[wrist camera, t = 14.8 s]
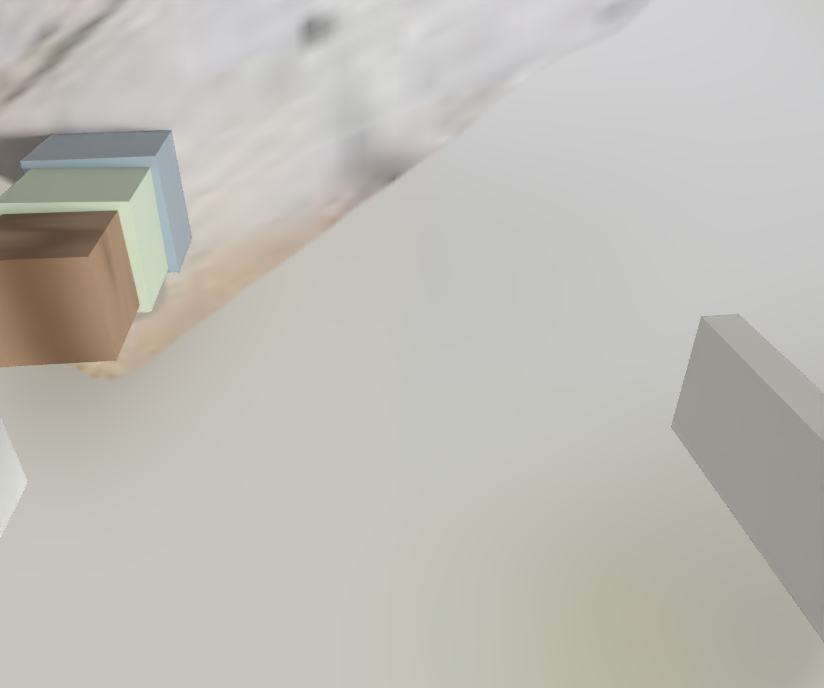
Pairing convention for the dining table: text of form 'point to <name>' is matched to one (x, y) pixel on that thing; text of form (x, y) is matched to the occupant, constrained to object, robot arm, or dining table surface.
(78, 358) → the walnut block
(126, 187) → the sage block
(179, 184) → the slate block
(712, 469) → the robot arm
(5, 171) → the dining table surface
